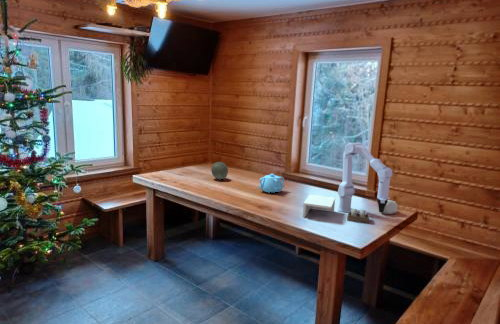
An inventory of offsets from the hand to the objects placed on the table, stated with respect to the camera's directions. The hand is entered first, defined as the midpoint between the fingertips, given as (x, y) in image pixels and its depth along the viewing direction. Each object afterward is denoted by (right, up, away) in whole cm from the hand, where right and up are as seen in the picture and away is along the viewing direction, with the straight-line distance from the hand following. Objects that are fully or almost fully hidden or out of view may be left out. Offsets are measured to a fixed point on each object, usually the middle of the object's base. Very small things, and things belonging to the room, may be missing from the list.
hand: (381, 212), depth 199 cm
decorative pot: (-59, +6, +60) cm, 85 cm away
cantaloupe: (-101, +14, +92) cm, 137 cm away
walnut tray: (-12, -5, +5) cm, 14 cm away
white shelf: (-33, -3, +13) cm, 36 cm away
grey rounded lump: (+12, -4, +21) cm, 25 cm away
